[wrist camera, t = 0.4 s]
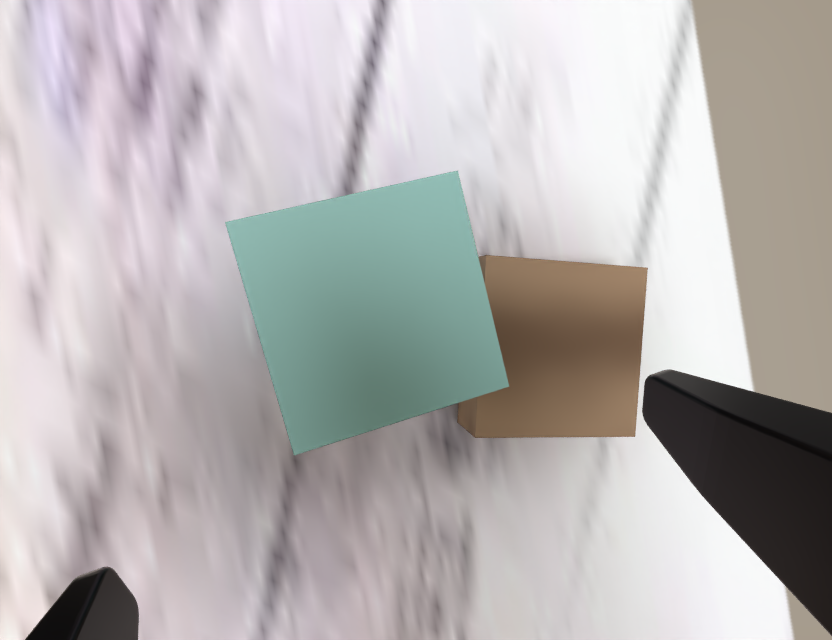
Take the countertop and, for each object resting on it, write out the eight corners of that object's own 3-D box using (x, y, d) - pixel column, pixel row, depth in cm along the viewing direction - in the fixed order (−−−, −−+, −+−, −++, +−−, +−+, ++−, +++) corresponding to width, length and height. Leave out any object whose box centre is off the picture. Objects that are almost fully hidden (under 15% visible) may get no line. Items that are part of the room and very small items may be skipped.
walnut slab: (598, 420, 26) (634, 436, 23) (455, 420, 24) (475, 437, 21) (609, 271, 26) (647, 267, 23) (464, 260, 24) (486, 255, 21)
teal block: (399, 334, 23) (509, 386, 10) (303, 361, 22) (293, 455, 9) (374, 238, 22) (458, 170, 10) (275, 263, 22) (225, 222, 9)
